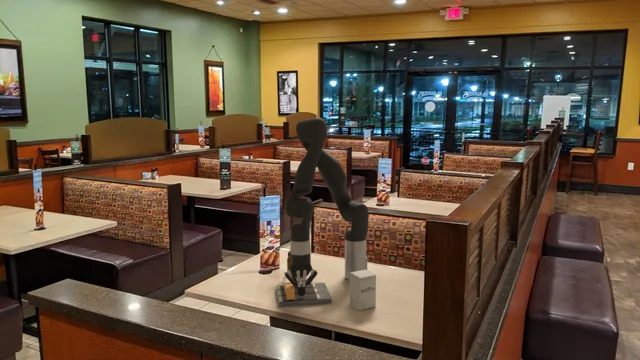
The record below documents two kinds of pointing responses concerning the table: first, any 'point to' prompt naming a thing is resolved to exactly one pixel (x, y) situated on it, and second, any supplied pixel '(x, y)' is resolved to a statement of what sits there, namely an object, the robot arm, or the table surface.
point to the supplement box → (362, 289)
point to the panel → (305, 296)
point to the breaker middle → (286, 283)
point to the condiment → (290, 265)
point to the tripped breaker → (290, 292)
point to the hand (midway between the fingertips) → (301, 295)
